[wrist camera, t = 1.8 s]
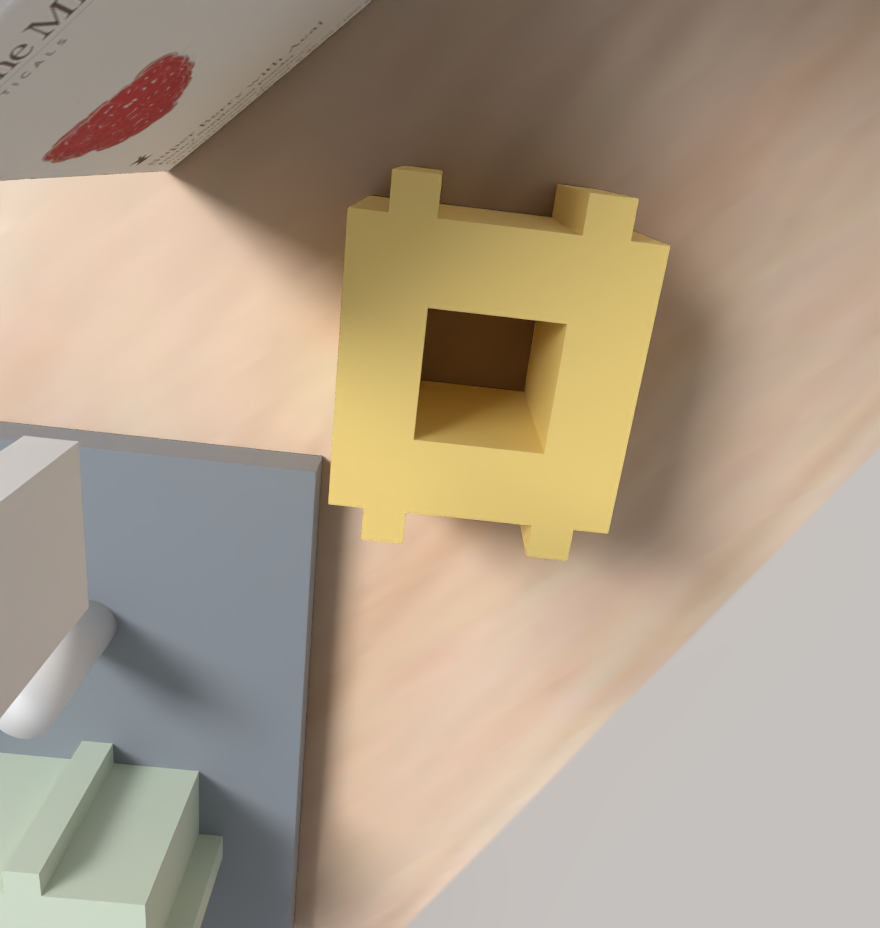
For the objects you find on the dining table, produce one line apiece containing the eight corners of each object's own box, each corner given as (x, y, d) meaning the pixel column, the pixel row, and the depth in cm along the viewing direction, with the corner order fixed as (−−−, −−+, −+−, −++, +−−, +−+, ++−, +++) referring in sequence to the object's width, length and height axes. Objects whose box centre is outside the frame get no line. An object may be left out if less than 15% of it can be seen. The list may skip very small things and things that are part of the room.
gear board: (-134, 407, 27) (-334, 494, 20) (322, 456, 28) (280, 557, 21) (-50, 896, 36) (-169, 1074, 29) (293, 925, 37) (258, 1107, 30)
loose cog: (372, 161, 24) (350, 163, 18) (626, 192, 24) (679, 203, 19) (350, 459, 28) (325, 535, 22) (570, 482, 28) (601, 564, 22)
